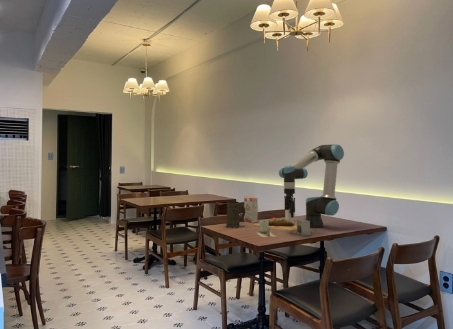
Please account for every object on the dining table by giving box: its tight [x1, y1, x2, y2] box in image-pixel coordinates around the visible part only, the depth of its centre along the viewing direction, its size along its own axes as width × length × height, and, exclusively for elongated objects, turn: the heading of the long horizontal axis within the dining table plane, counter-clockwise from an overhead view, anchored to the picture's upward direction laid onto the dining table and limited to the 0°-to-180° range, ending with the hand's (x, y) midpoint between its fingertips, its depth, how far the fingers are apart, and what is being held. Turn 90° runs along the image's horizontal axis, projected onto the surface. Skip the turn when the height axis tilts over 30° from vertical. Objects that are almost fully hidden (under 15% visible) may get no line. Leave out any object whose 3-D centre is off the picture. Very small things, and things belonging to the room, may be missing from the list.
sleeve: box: [284, 209, 296, 223], centre depth 252 cm, size 6×6×8 cm
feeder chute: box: [296, 218, 311, 237], centre depth 254 cm, size 6×8×10 cm
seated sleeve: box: [258, 220, 270, 234], centre depth 253 cm, size 6×6×8 cm
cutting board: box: [253, 216, 297, 232], centre depth 282 cm, size 35×23×8 cm
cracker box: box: [243, 195, 259, 224], centre depth 307 cm, size 14×6×21 cm, turn 24°
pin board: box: [254, 227, 278, 238], centre depth 248 cm, size 11×16×6 cm
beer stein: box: [225, 200, 245, 228], centre depth 285 cm, size 15×11×20 cm
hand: (289, 221), depth 252 cm, fingers closed on sleeve, 6 cm apart
